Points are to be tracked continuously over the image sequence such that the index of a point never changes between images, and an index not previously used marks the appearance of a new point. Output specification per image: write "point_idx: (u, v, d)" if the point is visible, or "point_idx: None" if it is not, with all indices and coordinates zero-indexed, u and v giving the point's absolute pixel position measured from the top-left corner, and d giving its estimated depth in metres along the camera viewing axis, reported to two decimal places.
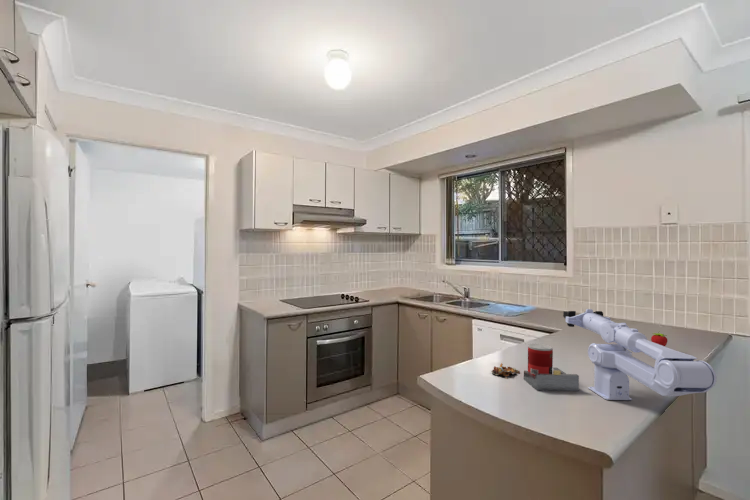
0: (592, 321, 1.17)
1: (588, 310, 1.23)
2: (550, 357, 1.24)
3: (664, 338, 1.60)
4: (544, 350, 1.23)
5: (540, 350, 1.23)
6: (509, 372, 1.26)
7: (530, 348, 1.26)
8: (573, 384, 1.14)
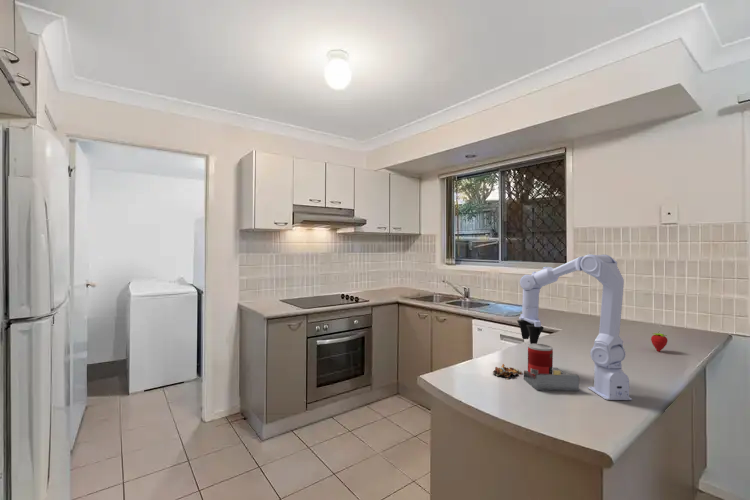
0: (523, 302, 1.36)
1: (521, 317, 1.36)
2: (550, 357, 1.24)
3: (664, 338, 1.60)
4: (544, 350, 1.23)
5: (540, 350, 1.23)
6: (510, 373, 1.25)
7: (530, 348, 1.26)
8: (573, 384, 1.14)
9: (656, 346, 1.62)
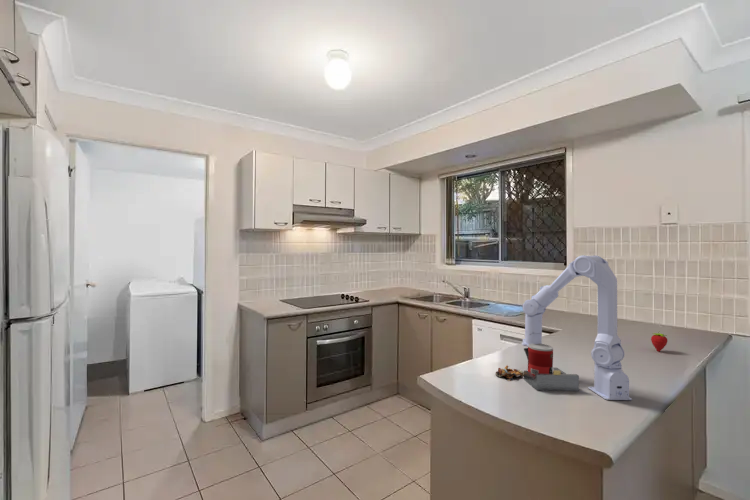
0: (526, 328, 1.32)
1: (523, 343, 1.32)
2: (550, 357, 1.23)
3: (664, 338, 1.60)
4: (545, 350, 1.23)
5: (541, 350, 1.23)
6: (512, 374, 1.24)
7: (530, 348, 1.26)
8: (573, 384, 1.14)
9: (656, 346, 1.62)
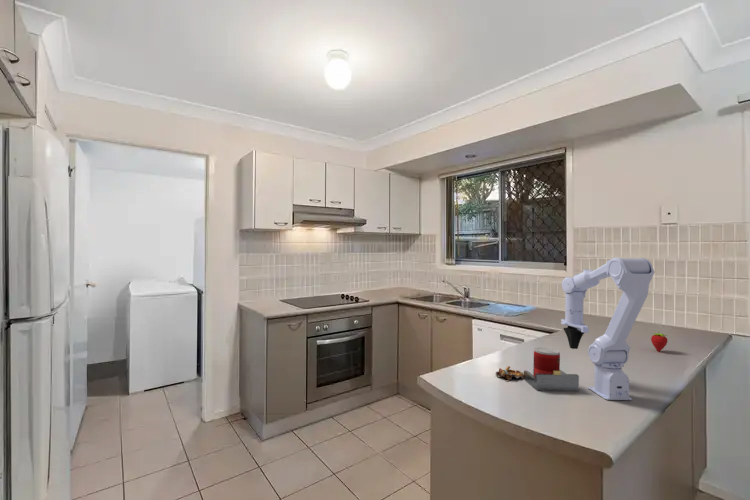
0: (565, 306, 1.30)
1: (564, 322, 1.28)
2: (557, 362, 1.18)
3: (664, 338, 1.60)
4: (551, 354, 1.18)
5: (547, 354, 1.18)
6: (512, 375, 1.23)
7: (536, 352, 1.21)
8: (573, 384, 1.14)
9: (656, 346, 1.62)
